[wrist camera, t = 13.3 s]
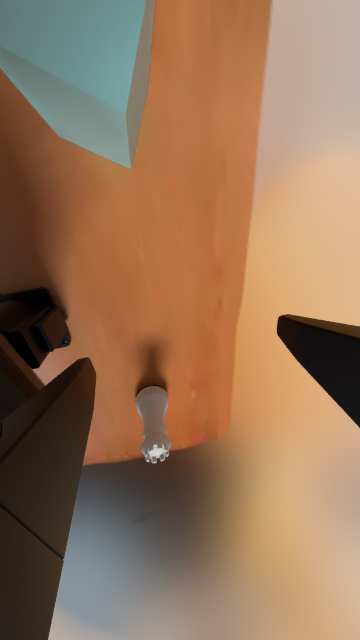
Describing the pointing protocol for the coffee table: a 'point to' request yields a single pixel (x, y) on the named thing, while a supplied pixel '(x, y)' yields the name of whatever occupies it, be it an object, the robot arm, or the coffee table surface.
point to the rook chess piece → (153, 422)
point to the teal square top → (82, 67)
